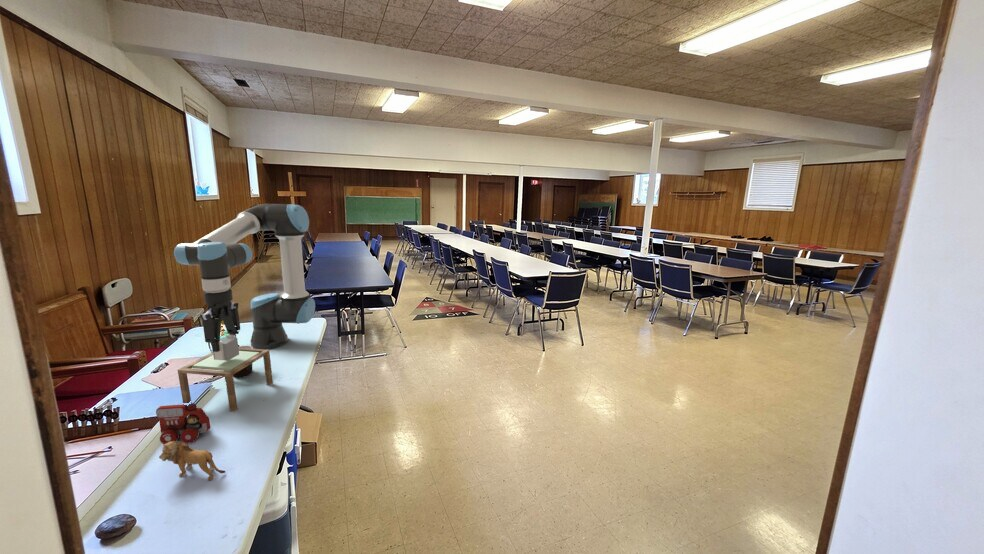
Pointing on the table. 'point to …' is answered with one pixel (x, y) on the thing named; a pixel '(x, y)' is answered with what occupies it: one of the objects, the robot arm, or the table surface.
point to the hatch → (225, 362)
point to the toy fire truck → (182, 422)
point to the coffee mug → (246, 370)
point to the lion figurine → (188, 457)
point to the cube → (229, 348)
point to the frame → (227, 374)
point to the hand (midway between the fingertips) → (226, 355)
